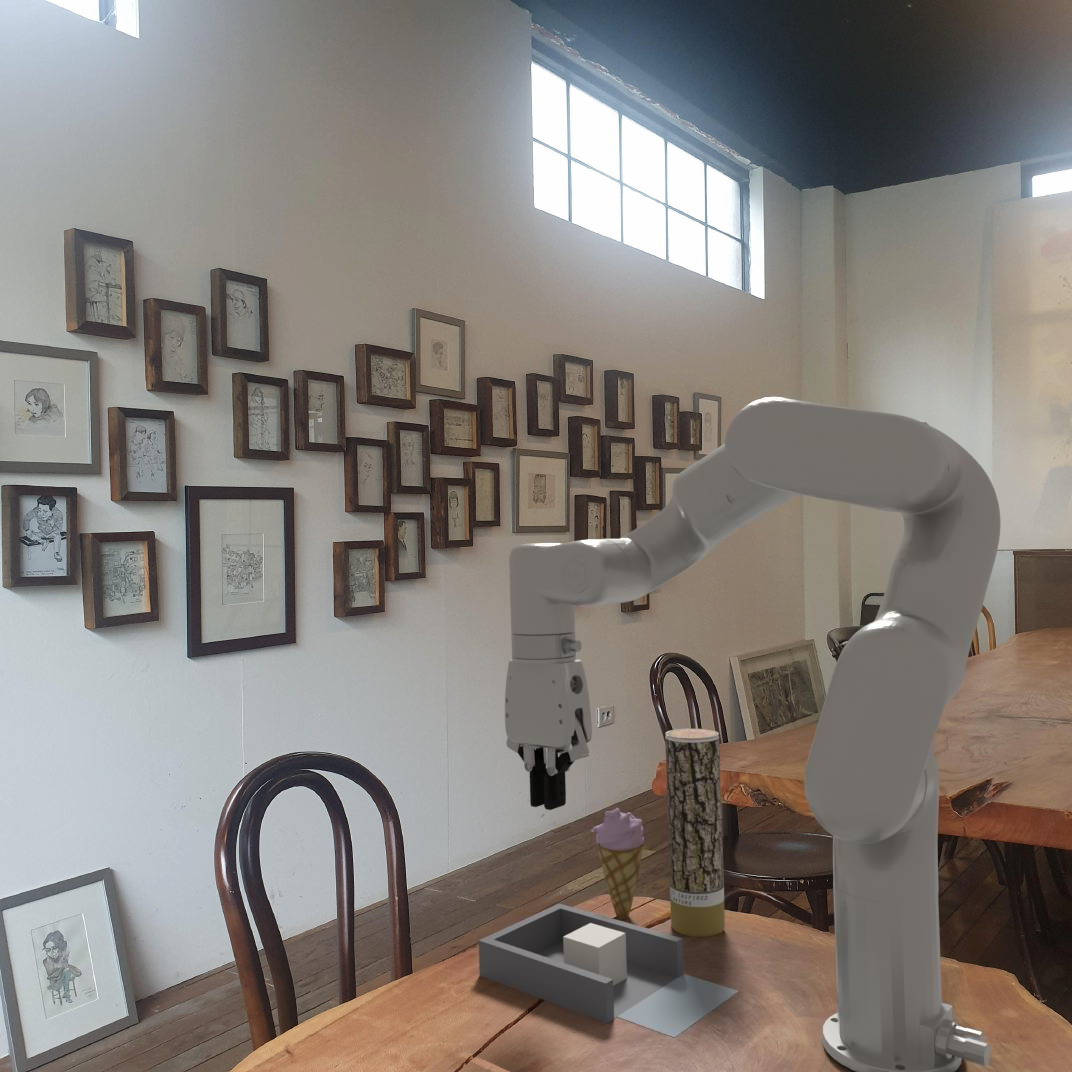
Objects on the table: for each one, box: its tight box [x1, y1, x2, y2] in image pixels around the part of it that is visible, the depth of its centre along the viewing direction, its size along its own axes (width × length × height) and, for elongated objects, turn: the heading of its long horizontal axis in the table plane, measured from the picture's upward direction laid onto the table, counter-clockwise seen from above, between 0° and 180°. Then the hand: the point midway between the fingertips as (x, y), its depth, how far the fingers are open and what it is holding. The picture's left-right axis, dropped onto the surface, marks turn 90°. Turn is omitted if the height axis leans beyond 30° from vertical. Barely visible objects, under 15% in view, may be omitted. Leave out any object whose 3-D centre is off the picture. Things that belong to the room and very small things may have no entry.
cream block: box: [563, 923, 627, 986], centre depth 109 cm, size 5×5×5 cm
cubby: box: [478, 903, 740, 1039], centre depth 108 cm, size 25×14×4 cm, turn 49°
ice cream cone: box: [590, 807, 645, 920], centre depth 128 cm, size 7×6×15 cm
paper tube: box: [664, 728, 726, 938], centre depth 123 cm, size 7×7×25 cm
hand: (548, 804), depth 113 cm, fingers closed
